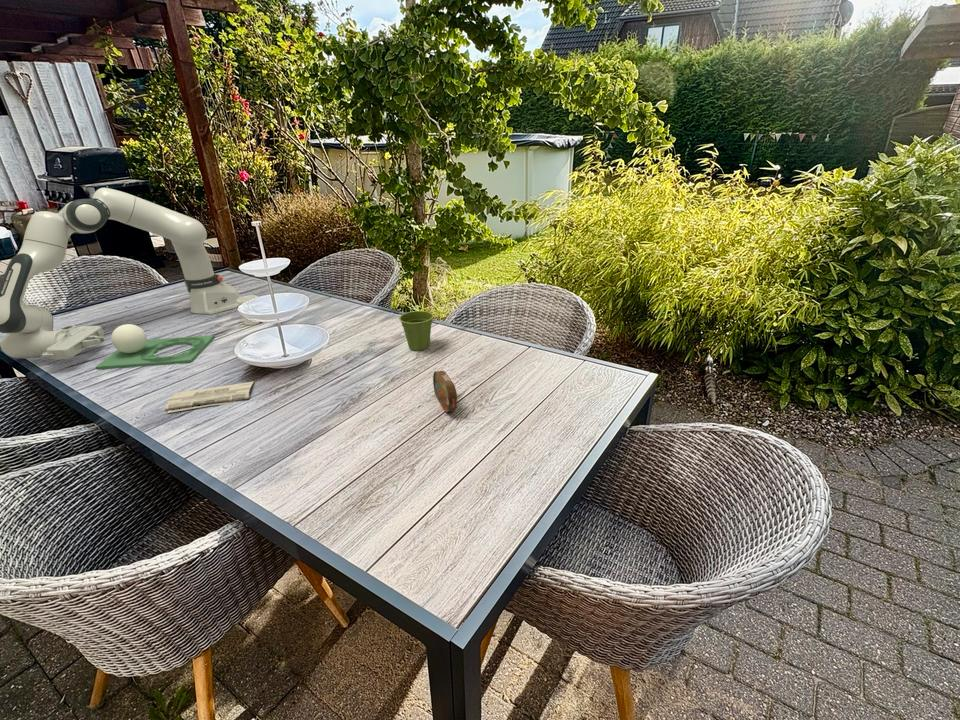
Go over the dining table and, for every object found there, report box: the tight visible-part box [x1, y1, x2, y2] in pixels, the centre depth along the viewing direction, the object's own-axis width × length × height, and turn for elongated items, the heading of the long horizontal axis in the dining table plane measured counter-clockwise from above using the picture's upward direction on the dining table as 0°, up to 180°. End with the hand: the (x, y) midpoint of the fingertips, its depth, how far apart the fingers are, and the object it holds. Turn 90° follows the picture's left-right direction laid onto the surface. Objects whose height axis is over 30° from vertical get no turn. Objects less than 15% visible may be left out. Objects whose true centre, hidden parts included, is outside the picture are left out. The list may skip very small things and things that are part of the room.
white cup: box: [237, 294, 260, 326], centre depth 191 cm, size 8×8×10 cm
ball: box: [110, 323, 148, 353], centre depth 166 cm, size 10×10×10 cm
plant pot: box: [398, 310, 435, 351], centre depth 166 cm, size 12×12×11 cm
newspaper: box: [164, 381, 255, 414], centre depth 141 cm, size 23×12×2 cm, turn 105°
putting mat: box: [95, 334, 216, 370], centre depth 170 cm, size 30×21×1 cm
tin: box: [432, 370, 458, 413], centre depth 133 cm, size 15×3×8 cm, turn 21°
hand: (101, 340), depth 166 cm, fingers closed
